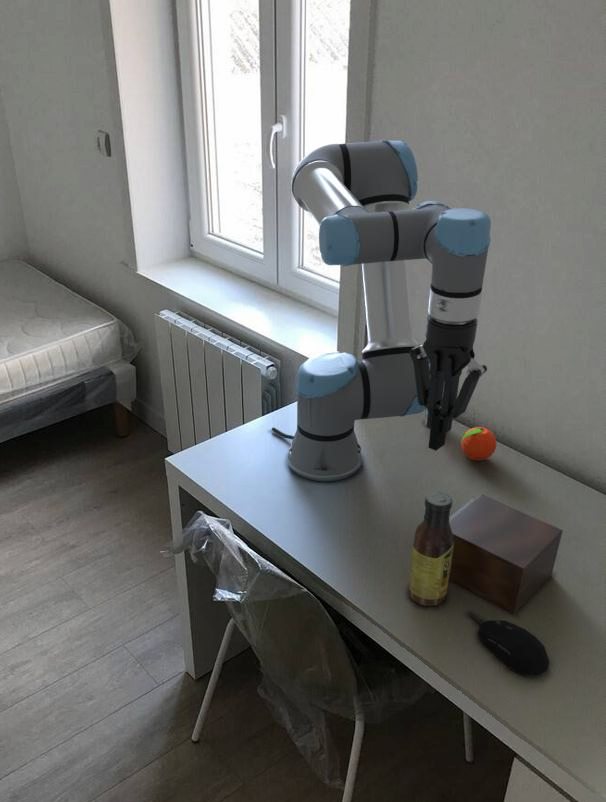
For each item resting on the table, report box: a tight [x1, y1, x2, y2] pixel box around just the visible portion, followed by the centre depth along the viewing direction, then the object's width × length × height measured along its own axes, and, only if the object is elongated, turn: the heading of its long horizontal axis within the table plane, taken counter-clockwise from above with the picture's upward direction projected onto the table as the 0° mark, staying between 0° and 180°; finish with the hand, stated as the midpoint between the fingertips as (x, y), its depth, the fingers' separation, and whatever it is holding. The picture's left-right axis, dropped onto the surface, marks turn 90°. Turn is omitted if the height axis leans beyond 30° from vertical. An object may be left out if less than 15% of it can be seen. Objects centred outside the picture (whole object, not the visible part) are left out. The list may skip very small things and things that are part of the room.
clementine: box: [459, 426, 497, 461], centre depth 161 cm, size 8×7×7 cm
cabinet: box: [449, 494, 563, 614], centre depth 131 cm, size 15×13×10 cm
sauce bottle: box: [408, 490, 454, 607], centre depth 125 cm, size 6×6×20 cm
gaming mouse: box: [469, 613, 550, 676], centre depth 119 cm, size 6×15×4 cm, turn 30°
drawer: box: [449, 497, 477, 521], centre depth 133 cm, size 15×12×8 cm
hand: (436, 445), depth 132 cm, fingers closed
